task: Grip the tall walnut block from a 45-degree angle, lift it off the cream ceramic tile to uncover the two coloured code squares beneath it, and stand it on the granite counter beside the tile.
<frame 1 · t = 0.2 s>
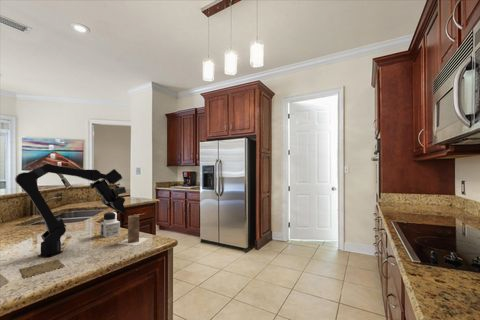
hand: (121, 212, 123), 14 cm above the worktop, tool tilted 35°, fingers open, 9 cm apart
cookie: (42, 269, 87), on the worktop
container: (110, 235, 129), on the worktop
code tile: (133, 241, 117), on the worktop
walnut block: (133, 240, 117), resting on code tile
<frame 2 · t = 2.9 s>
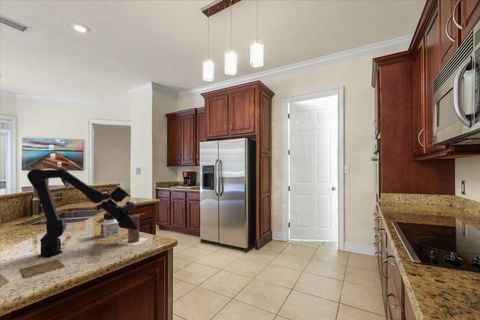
hand: (136, 227, 118), 7 cm above the worktop, tool tilted 45°, fingers closed on walnut block, 5 cm apart
walnut block: (133, 240, 117), resting on code tile, touching gripper
everything else where it was.
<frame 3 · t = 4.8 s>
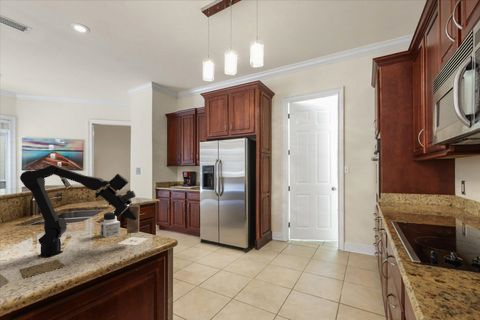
hand: (136, 218, 113), 13 cm above the worktop, tool tilted 45°, fingers closed on walnut block, 5 cm apart
walnut block: (133, 231, 112), point 7 cm above the worktop, touching gripper
everything else where it was.
when the fingers open (8 cm above the worktop, at t = 6.7 s): walnut block moves 1 cm, on the worktop.
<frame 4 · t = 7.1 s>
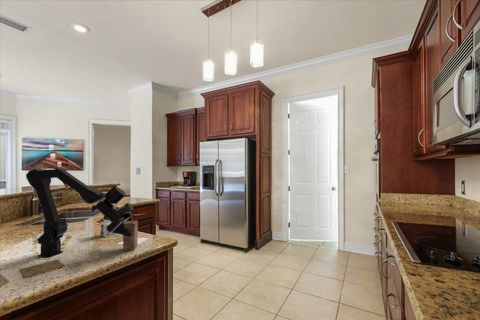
hand: (133, 233, 106), 8 cm above the worktop, tool tilted 45°, fingers open, 9 cm apart
walnut block: (130, 249, 106), on the worktop
everything else where it was.
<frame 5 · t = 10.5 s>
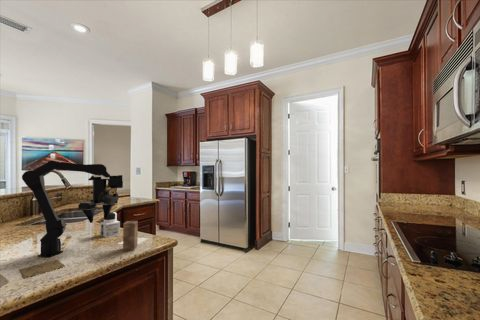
hand: (99, 220, 110), 13 cm above the worktop, tool pointing down, fingers open, 9 cm apart
nothing on the worktop moved.
at the end: walnut block touching worktop; walnut block tilted 0°; walnut block inside the target area (0.5 cm from its centre), on the worktop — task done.
